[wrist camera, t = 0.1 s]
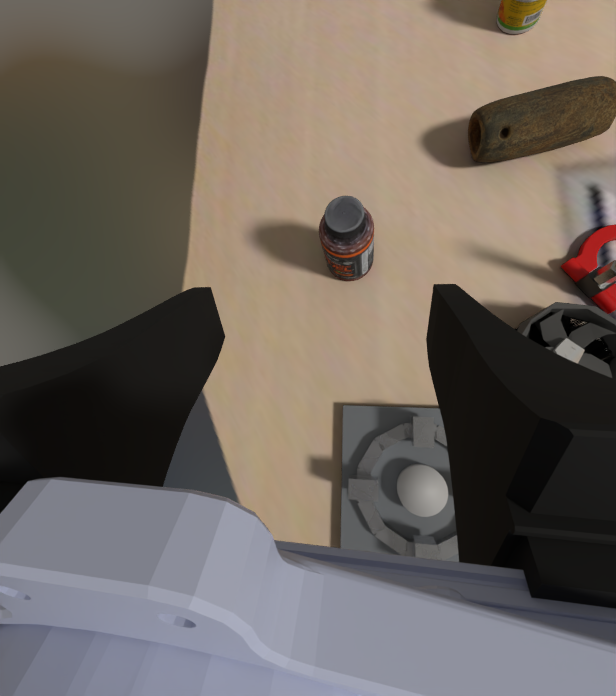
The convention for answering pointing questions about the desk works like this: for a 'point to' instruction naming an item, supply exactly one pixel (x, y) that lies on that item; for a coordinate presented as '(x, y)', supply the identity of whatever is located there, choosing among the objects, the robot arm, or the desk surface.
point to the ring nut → (367, 491)
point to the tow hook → (600, 279)
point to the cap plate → (396, 480)
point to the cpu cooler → (576, 335)
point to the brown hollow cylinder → (542, 119)
